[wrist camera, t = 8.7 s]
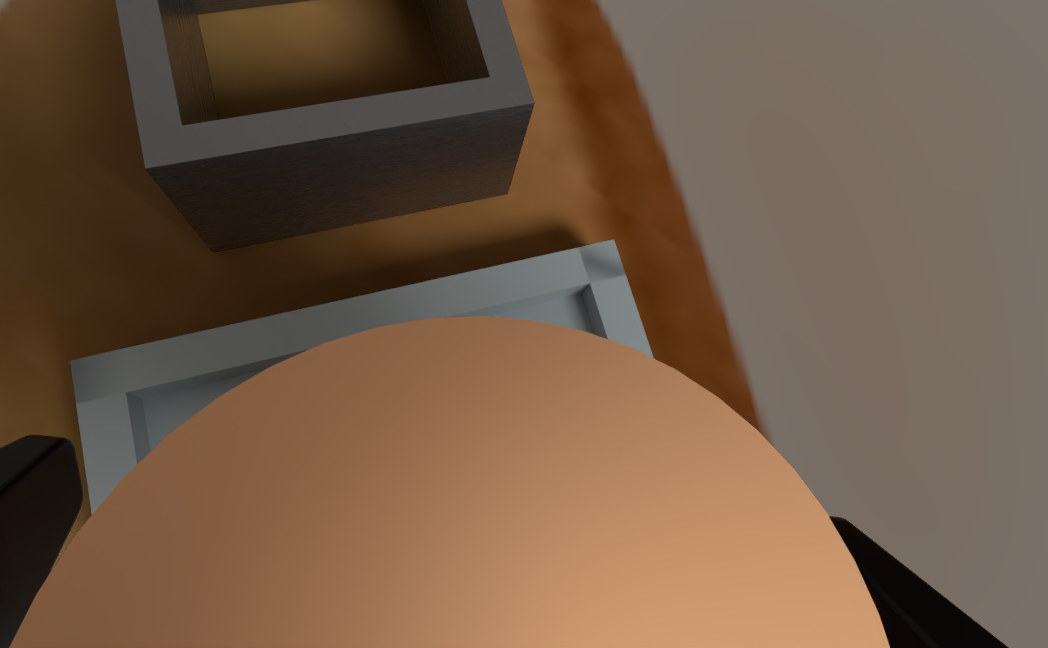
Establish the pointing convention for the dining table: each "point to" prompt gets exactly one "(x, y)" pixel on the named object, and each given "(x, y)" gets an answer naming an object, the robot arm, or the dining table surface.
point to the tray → (253, 346)
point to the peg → (459, 511)
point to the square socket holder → (324, 130)
